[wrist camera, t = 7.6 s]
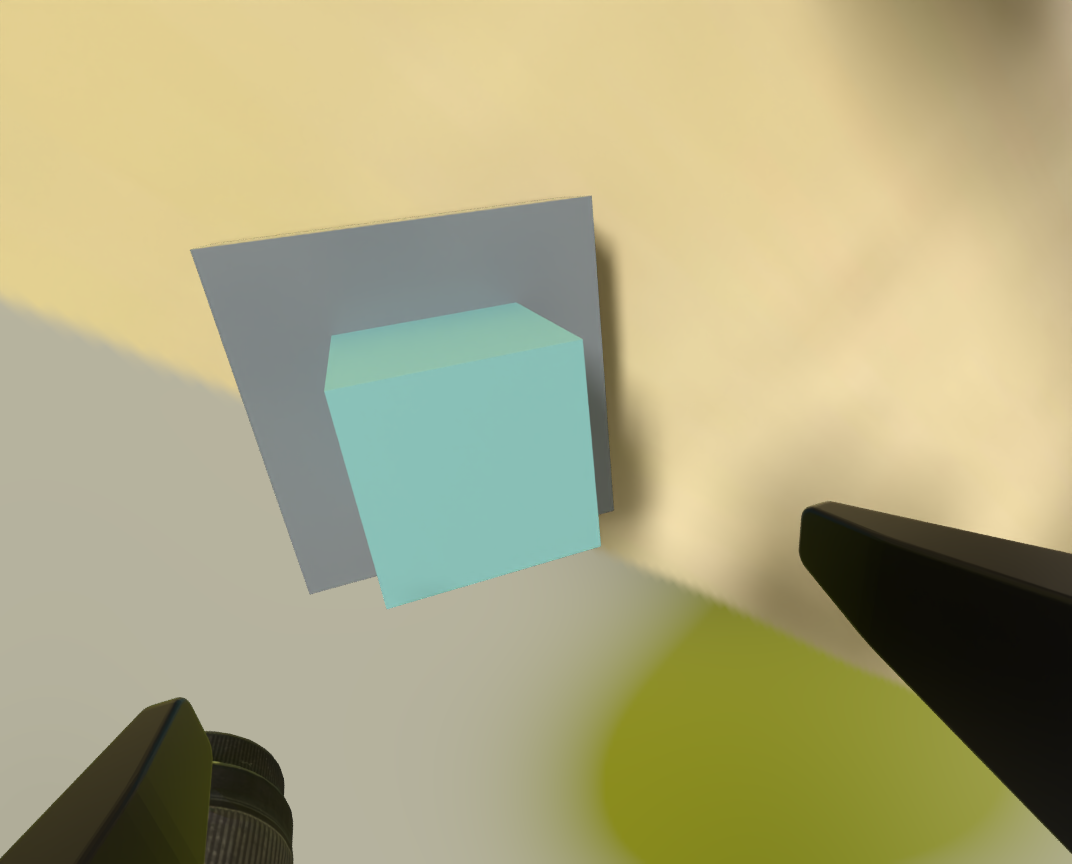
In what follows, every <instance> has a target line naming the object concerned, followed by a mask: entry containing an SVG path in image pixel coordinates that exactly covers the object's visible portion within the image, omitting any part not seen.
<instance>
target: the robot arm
mask: <svg viewBox="0 0 1072 864" xmlns="http://www.w3.org/2000/svg"><path fill="white" fill-rule="evenodd" d="M799 555H800V558H801V561H802V563H803V565H804V566H805V568H806V569H807V570H808V571H809V572H810V574H811V575H812V576H813V577H814V579H815V580H816V581H817V582H818V583H819V585H820V586H821V587H822V588H823V590H824V591H825V592H826V593H827V595H828V596H829V597H830V598H831V599H832V601H833V602H834V603H835V604H836V606H837V607H838V608H839V609H840V611H841V612H842V613H843V614H844V615H845V617H846V618H847V619H848V620H849V622H850V623H851V624H852V625H853V627H854V628H855V629H856V630H857V631H858V633H859V634H860V635H861V636H862V637H863V638H864V640H865V641H866V642H867V643H868V644H869V645H870V646H871V647H872V649H873V650H874V651H875V652H876V653H877V654H878V655H879V656H880V657H881V658H882V659H883V660H884V661H885V662H886V663H887V664H888V665H889V666H890V667H891V668H892V669H893V671H894V672H895V673H896V674H897V675H898V676H899V677H900V678H901V679H902V680H903V681H904V682H905V683H906V684H907V685H908V686H909V687H910V688H911V689H912V690H913V691H914V692H915V693H916V694H917V695H918V696H919V697H920V698H921V699H922V700H923V701H924V702H925V703H926V704H927V705H928V706H929V707H930V709H932V711H933V712H934V713H935V714H936V715H937V716H938V717H939V718H940V719H941V720H942V721H943V722H944V723H945V724H946V725H947V726H948V727H949V728H950V729H951V730H952V731H953V732H954V733H955V734H956V735H957V736H958V737H959V738H960V739H961V740H962V742H963V743H964V744H965V745H966V746H967V747H968V748H969V749H970V750H971V751H972V752H973V753H974V754H975V755H976V756H977V757H978V758H979V759H980V760H981V761H982V762H983V763H984V764H985V765H986V766H987V767H988V768H989V769H990V770H991V771H992V772H993V773H994V774H995V775H996V776H997V777H998V779H999V780H1001V782H1002V783H1003V784H1004V785H1005V786H1006V787H1007V788H1008V789H1009V790H1010V791H1011V792H1012V793H1013V794H1014V795H1015V796H1016V797H1017V798H1018V799H1019V800H1020V801H1021V802H1022V803H1023V804H1024V805H1025V806H1026V807H1027V808H1028V809H1029V810H1030V811H1031V812H1032V814H1034V816H1035V817H1036V818H1037V819H1038V820H1039V821H1040V822H1041V823H1042V824H1043V825H1044V826H1045V827H1046V828H1047V829H1048V830H1049V831H1050V832H1051V833H1052V834H1053V835H1054V836H1055V837H1056V838H1057V839H1058V840H1059V841H1060V842H1061V843H1062V844H1063V845H1064V846H1065V847H1066V849H1068V850H1069V852H1070V853H1071V854H1072V554H1070V553H1066V552H1061V551H1056V550H1052V549H1047V548H1043V547H1038V546H1034V545H1029V544H1024V543H1020V542H1015V541H1011V540H1006V539H1001V538H997V537H992V536H988V535H983V534H978V533H974V532H969V531H965V530H960V529H956V528H951V527H946V526H942V525H937V524H933V523H928V522H923V521H919V520H914V519H910V518H905V517H900V516H896V515H891V514H887V513H882V512H878V511H873V510H868V509H864V508H859V507H855V506H850V505H845V504H841V503H836V502H831V501H827V502H822V503H819V504H816V505H812V506H809V507H807V508H806V509H804V511H803V513H802V516H801V527H800V539H799ZM211 773H212V749H211V745H210V742H209V739H208V737H207V735H206V733H205V731H204V729H203V727H202V725H201V723H200V721H199V719H198V717H197V715H196V714H195V711H194V709H193V707H192V705H191V704H190V702H189V701H188V700H187V699H185V698H181V697H179V698H174V699H171V700H168V701H164V702H161V703H158V704H155V705H151V706H149V707H147V708H145V709H144V710H143V711H142V712H141V713H140V714H139V715H138V716H137V717H136V718H135V719H134V720H133V721H132V722H131V723H130V724H129V725H128V726H127V727H126V728H125V729H124V730H123V731H122V732H121V733H120V734H119V735H118V737H116V739H115V740H114V741H113V742H112V743H111V744H110V745H109V746H108V747H107V748H106V749H105V750H104V751H103V752H102V753H101V754H100V755H99V756H98V757H97V758H96V759H95V760H94V761H93V763H92V764H91V765H90V766H89V767H88V768H87V769H86V770H85V771H84V772H83V773H82V774H81V775H80V776H79V777H78V778H77V779H76V780H75V781H74V782H73V783H72V784H71V785H70V786H69V788H68V789H67V790H66V791H65V792H64V793H63V794H62V795H61V796H60V797H59V798H58V799H57V800H56V801H55V802H54V803H53V804H52V805H51V806H50V807H49V808H48V809H47V810H46V811H45V812H44V814H42V816H41V817H40V818H39V819H38V820H37V821H36V822H35V823H34V824H33V825H32V826H31V827H30V828H29V829H28V830H27V831H26V832H25V833H24V835H22V836H21V837H20V838H19V839H18V840H17V842H16V843H15V844H14V845H13V846H12V847H11V848H10V849H9V850H8V851H7V852H6V853H5V854H4V855H3V856H2V857H1V858H0V864H204V861H205V849H206V836H207V823H208V811H209V798H210V786H211Z"/></svg>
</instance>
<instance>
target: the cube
mask: <svg viewBox="0 0 1072 864" xmlns="http://www.w3.org/2000/svg"><path fill="white" fill-rule="evenodd" d="M324 392H325V396H326V399H327V403H328V406H329V410H330V413H331V417H332V420H333V424H334V427H335V431H336V434H337V438H338V441H339V445H340V448H341V452H342V455H343V459H344V462H345V466H346V469H347V472H348V476H349V479H350V483H351V486H352V490H353V493H354V497H355V500H356V504H357V507H358V511H359V514H360V518H361V521H362V525H363V528H364V532H365V535H366V539H367V542H368V546H369V549H370V552H371V556H372V559H373V563H374V566H375V570H376V573H377V577H378V580H379V584H380V587H381V591H382V594H383V598H384V601H385V605H386V608H387V609H389V608H393V607H396V606H400V605H403V604H406V603H409V602H413V601H416V600H420V599H423V598H427V597H430V596H434V595H437V594H440V593H444V592H447V591H451V590H454V589H457V588H461V587H464V586H468V585H471V584H474V583H478V582H481V581H485V580H488V579H491V578H495V577H498V576H502V575H505V574H508V573H512V572H515V571H519V570H522V569H525V568H529V567H532V566H536V565H539V564H542V563H546V562H549V561H553V560H556V559H560V558H563V557H566V556H570V555H573V554H577V553H580V552H583V551H587V550H590V549H594V548H597V547H600V546H601V541H600V530H599V518H598V507H597V496H596V484H595V473H594V462H593V450H592V439H591V428H590V416H589V405H588V394H587V382H586V371H585V360H584V348H583V339H581V338H580V337H578V336H576V335H574V334H572V333H571V332H569V331H567V330H565V329H563V328H562V327H560V326H558V325H556V324H554V323H553V322H551V321H549V320H547V319H545V318H543V317H542V316H540V315H538V314H536V313H534V312H533V311H531V310H529V309H527V308H525V307H524V306H522V305H520V304H518V303H510V304H505V305H499V306H494V307H488V308H482V309H477V310H471V311H466V312H460V313H455V314H449V315H444V316H438V317H432V318H427V319H421V320H416V321H410V322H405V323H399V324H393V325H388V326H382V327H377V328H371V329H366V330H360V331H355V332H349V333H343V334H338V335H332V336H331V343H330V350H329V358H328V366H327V373H326V381H325V388H324Z"/></svg>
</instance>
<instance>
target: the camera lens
mask: <svg viewBox="0 0 1072 864" xmlns="http://www.w3.org/2000/svg"><path fill="white" fill-rule="evenodd" d="M205 733H206V735H207V737H208V739H209V742H210V745H211V749H212V773H211V786H210V798H209V811H208V823H207V836H206V849H205V861H204V864H293V851H292V835H293V819H292V812H291V809H290V807H289V805H288V803H287V801H286V799H285V798H284V778H283V775H282V772H281V769H280V766H279V764H278V763H277V761H276V760H275V759H274V757H273V756H272V755H271V754H270V753H269V752H268V751H267V750H266V749H264V748H263V747H261V746H260V745H258V744H257V743H255V742H253V741H251V740H249V739H246V738H243V737H239V736H236V735H232V734H228V733H221V732H212V731H205Z"/></svg>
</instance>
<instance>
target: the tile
mask: <svg viewBox="0 0 1072 864" xmlns="http://www.w3.org/2000/svg"><path fill="white" fill-rule="evenodd" d="M190 251H191V254H192V257H193V259H194V262H195V265H196V268H197V271H198V274H199V277H200V280H201V283H202V285H203V288H204V291H205V294H206V297H207V300H208V303H209V306H210V308H211V311H212V314H213V317H214V320H215V323H216V326H217V329H218V331H219V334H220V337H221V340H222V343H223V346H224V349H225V352H226V355H227V357H228V360H229V363H230V366H231V369H232V372H233V375H234V378H235V380H236V383H237V386H238V389H239V392H240V395H241V398H242V401H243V403H244V406H245V409H246V412H247V414H248V418H249V421H250V423H251V426H252V429H253V432H254V435H255V438H256V441H257V444H258V447H259V450H260V452H261V455H262V458H263V461H264V464H265V467H266V470H267V473H268V476H269V478H270V481H271V484H272V487H273V490H274V493H275V496H276V498H277V501H278V504H279V507H280V510H281V513H282V516H283V518H284V522H285V524H286V527H287V530H288V533H289V536H290V539H291V542H292V545H293V548H294V550H295V553H296V556H297V559H298V562H299V565H300V568H301V571H302V573H303V576H304V579H305V582H306V585H307V588H308V591H309V593H310V594H313V593H317V592H320V591H323V590H327V589H331V588H335V587H338V586H342V585H346V584H349V583H353V582H357V581H360V580H364V579H367V578H371V577H375V576H377V573H376V570H375V566H374V563H373V559H372V556H371V552H370V549H369V546H368V542H367V539H366V535H365V532H364V528H363V525H362V521H361V518H360V514H359V511H358V507H357V504H356V500H355V497H354V493H353V490H352V486H351V483H350V479H349V476H348V472H347V469H346V466H345V462H344V459H343V455H342V452H341V448H340V445H339V441H338V438H337V434H336V431H335V427H334V424H333V420H332V417H331V413H330V410H329V406H328V403H327V399H326V396H325V392H324V388H325V381H326V373H327V366H328V358H329V350H330V343H331V336H332V335H338V334H343V333H349V332H355V331H360V330H366V329H371V328H377V327H382V326H388V325H393V324H399V323H405V322H410V321H416V320H421V319H427V318H432V317H438V316H444V315H449V314H455V313H460V312H466V311H471V310H477V309H482V308H488V307H494V306H499V305H505V304H510V303H518V304H520V305H522V306H524V307H525V308H527V309H529V310H531V311H533V312H534V313H536V314H538V315H540V316H542V317H543V318H545V319H547V320H549V321H551V322H553V323H554V324H556V325H558V326H560V327H562V328H563V329H565V330H567V331H569V332H571V333H572V334H574V335H576V336H578V337H580V338H581V339H583V348H584V360H585V371H586V382H587V394H588V405H589V416H590V428H591V439H592V450H593V462H594V473H595V484H596V496H597V507H598V515H599V514H603V513H607V512H610V511H614V506H613V492H612V478H611V464H610V450H609V435H608V421H607V407H606V393H605V379H604V365H603V350H602V336H601V322H600V308H599V294H598V280H597V265H596V251H595V237H594V223H593V209H592V196H577V197H560V198H552V199H545V200H537V201H530V202H522V203H515V204H507V205H500V206H492V207H485V208H477V209H470V210H462V211H455V212H447V213H440V214H432V215H425V216H418V217H410V218H403V219H395V220H388V221H380V222H373V223H365V224H358V225H350V226H343V227H335V228H328V229H320V230H313V231H305V232H298V233H290V234H283V235H275V236H268V237H260V238H253V239H245V240H238V241H230V242H223V243H215V244H210V245H206V246H203V247H199V248H195V249H191V250H190Z"/></svg>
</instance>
